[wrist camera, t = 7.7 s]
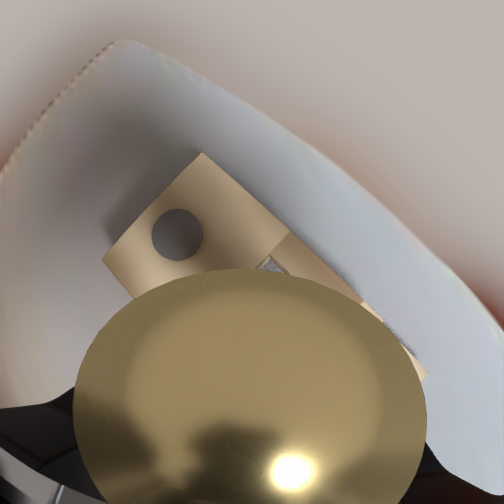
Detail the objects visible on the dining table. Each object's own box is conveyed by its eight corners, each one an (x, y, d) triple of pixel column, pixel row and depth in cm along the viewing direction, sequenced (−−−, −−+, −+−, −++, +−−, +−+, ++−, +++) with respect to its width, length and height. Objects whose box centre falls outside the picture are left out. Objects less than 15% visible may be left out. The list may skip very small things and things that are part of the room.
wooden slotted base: (327, 461, 20) (334, 484, 16) (121, 264, 23) (97, 258, 19) (420, 368, 20) (442, 379, 16) (210, 168, 23) (200, 148, 20)
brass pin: (249, 382, 16) (180, 582, 3) (214, 312, 17) (27, 352, 3) (322, 348, 16) (455, 492, 3) (287, 277, 17) (335, 198, 3)
